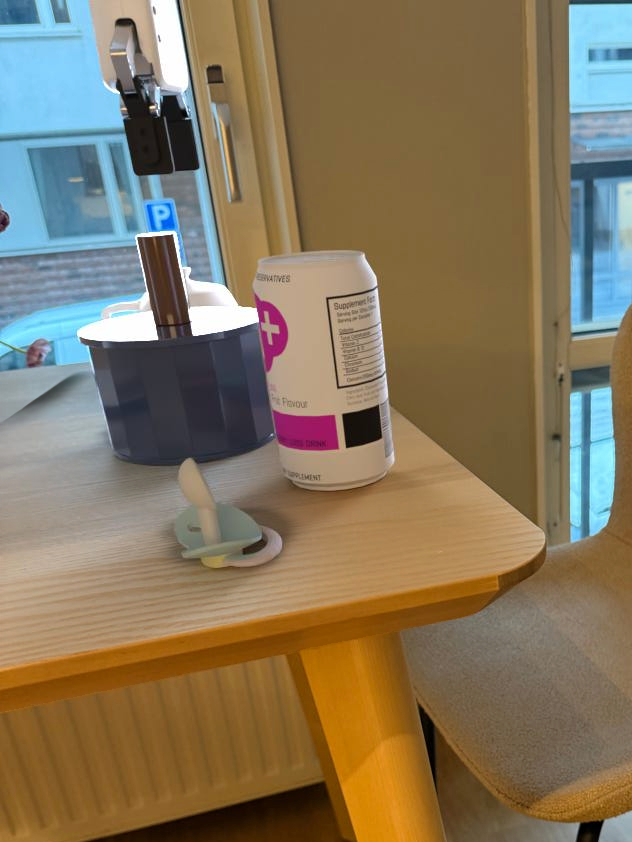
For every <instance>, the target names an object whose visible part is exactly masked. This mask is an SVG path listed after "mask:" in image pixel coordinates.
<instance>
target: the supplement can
mask: <svg viewBox="0 0 632 842" xmlns="http://www.w3.org/2000/svg"><path fill="white" fill-rule="evenodd" d="M257 261H258V267H257V270H256V273H255V276H254V280H253V282H252V291H253V297H254V303H255V308H256V311H257V317H258V323H259V329H260V336H261V342H262V348H263V354H264V361H265V367H266V373H267V379H268V386H269V392H270V398H271V404H272V411H273V417H274V423H275V430H276V442H277V447H278V453H279V460H280V468H281V471H282V476H283V477H285V478H287V479H289V480H291V482H292V484H293V485H295V486H297V487H299V488H301V489H305V490H311V491H327V492H330V491H331V492H332V491H343V490H344V491H345V490H349V489H350V490H351V489H355V488H360V487H365V486H367V485H370V484H372V483H375V482H377V481H379V480H381V479H382V478H384V477H385V476H386V474H387V472H388V470H389V469H391V468H392V467H393V465H394V463H395V452H394V441H393V432H392V422H391V411H390V401H389V391H388V382H387V381H388V380H387V371H386V360H385V359H386V358H385V351H384V340H383V331H382V319H381V308H380V299H379V289H378V280H377V279H378V278H377V276H376V274H375V272H374V271H373V269H372V268H371V265H370V264H369V263H368V260H367V259H366V254H365V252H363V251H361V250H360V251H359V250H351V249H350V250H349V249H347V250H346V249H336V250H335V249H333V250H313V251H301V252H290V253H282V254H278V255H275V254H274V255H270V256H266V257H262V258H260V259H258V260H257Z"/></svg>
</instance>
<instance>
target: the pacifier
mask: <svg viewBox="0 0 632 842" xmlns="http://www.w3.org/2000/svg"><path fill="white" fill-rule="evenodd" d="M177 479H178V484H179V487H180V490H181V492H182V494H183V496H184V497H185V499H186V500H187V501H188V503H190V504H191V505H190V506H188V507H186V508H184V509H183V510H182V511H181V512H180V513H179V515H177V517H176V519H175V522H174V525H173V529H174V530H173V531H174V534H175V537H176V539H177V541H178V542H179V544H180V545H181V546H183V548H186V549H185V550H183V551H182V552H181V553H180V554H181V557H182V558H183V559H200V562H201V564H202V565H204V566H205V567H207V568H212V569H213V568H214V569H219V568H226V567H236V568H250V567H256V566H260V565H263V564H266V563H268V562H270V561H272V560H273V559H275V558H276V557H277V556H278V555H279V554H280V553H281V551H282V549H283V540H282V537H281V535H280V534H279V533H278V532H277V531H275V530H274V529H272V528H270V527H268V526H266V525H265V526H264V525H261V524H258V523H257V522H256V521H255V520H254V518H252V517H251V516H250V515H249V514H248V513H246V512H245V511H243V510H241V508H237V507H235V506H233V505H230V504H227V503H221V502H216V500H215V498H214V495H213V493H212V490H211V488H210V486H209V484H208V482H207V480H206V478H205V475H204V474H203V473H202V471H201V469H200V466H199V465H198V464H197V463H196V462H195V461H194V460H193V459H192V458H188V459H186V460H185V461H184V462H183V463H182V464H181V465H180V467H179V470H178V477H177ZM191 528H199V529H200V530H199V531H195V532H194V531H191V530H190V529H191ZM260 540H263V541H264V542H265V543H266V545H265V546H264V547H263V548H262V549H260V550H259V551H256V552H253V553H247V554H244V550H243V549H245V548H247V547H250V546H251V545H253V544H255V543H257V542H259V541H260Z"/></svg>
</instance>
